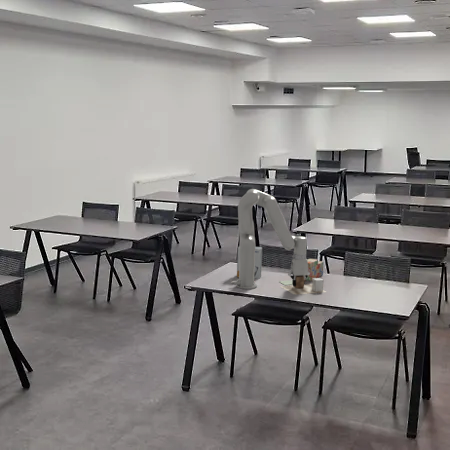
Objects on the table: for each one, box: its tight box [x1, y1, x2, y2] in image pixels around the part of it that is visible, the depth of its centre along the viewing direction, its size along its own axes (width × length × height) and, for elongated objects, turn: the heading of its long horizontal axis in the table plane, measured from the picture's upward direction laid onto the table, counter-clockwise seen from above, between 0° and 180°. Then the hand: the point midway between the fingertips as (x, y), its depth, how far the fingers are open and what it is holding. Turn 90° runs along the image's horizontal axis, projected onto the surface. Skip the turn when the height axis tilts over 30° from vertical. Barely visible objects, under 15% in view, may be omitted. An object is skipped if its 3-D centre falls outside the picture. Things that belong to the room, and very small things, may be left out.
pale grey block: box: [311, 277, 324, 292], centre depth 374 cm, size 5×5×7 cm
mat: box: [278, 280, 293, 286], centre depth 391 cm, size 12×9×1 cm
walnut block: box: [293, 276, 305, 288], centre depth 379 cm, size 5×5×7 cm
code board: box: [279, 283, 327, 296], centre depth 376 cm, size 22×20×1 cm
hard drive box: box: [236, 246, 263, 280], centre depth 404 cm, size 16×8×20 cm, turn 77°
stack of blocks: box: [305, 258, 324, 282], centre depth 406 cm, size 21×6×12 cm, turn 148°
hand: (298, 285), depth 380 cm, fingers closed on walnut block, 5 cm apart
